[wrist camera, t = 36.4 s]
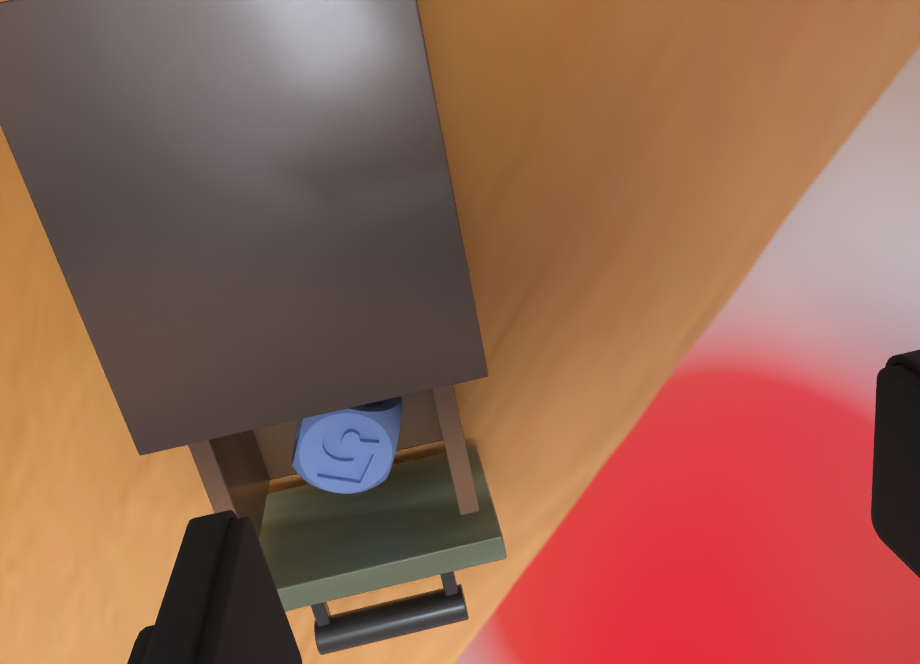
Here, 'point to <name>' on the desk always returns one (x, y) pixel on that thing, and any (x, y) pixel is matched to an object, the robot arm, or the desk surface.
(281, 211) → the cabinet
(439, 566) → the drawer
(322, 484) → the decorative dice
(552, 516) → the desk surface
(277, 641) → the robot arm
